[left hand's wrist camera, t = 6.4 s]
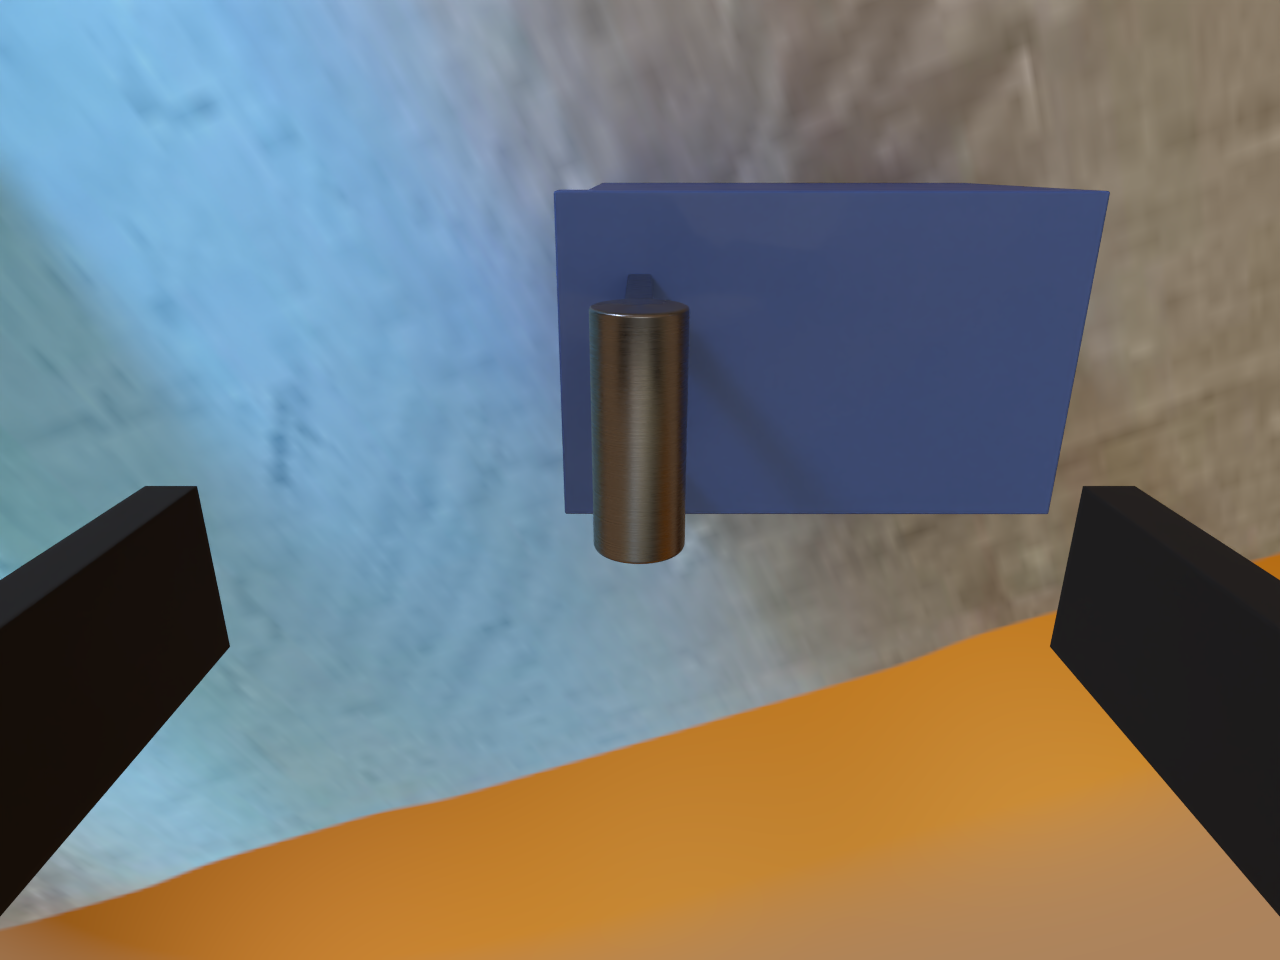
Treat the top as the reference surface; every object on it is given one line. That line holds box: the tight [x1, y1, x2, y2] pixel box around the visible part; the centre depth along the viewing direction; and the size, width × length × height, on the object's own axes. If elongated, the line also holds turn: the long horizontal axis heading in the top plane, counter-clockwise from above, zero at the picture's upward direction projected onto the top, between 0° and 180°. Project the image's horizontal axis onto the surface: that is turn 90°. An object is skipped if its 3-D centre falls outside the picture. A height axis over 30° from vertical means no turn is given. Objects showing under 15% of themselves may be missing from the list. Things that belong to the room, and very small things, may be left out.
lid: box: [554, 190, 1110, 564], centre depth 22 cm, size 16×10×9 cm, turn 90°
